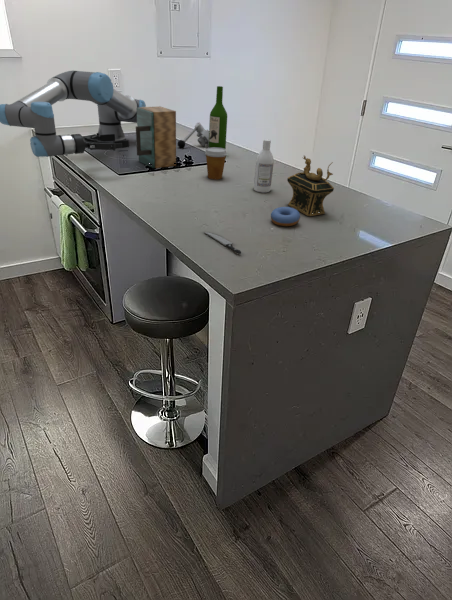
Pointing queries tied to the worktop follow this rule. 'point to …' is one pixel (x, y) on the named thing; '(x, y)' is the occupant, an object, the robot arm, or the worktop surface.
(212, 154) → the disposable coffee cup
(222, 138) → the wine bottle
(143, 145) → the door
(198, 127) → the mechanical valve
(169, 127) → the cabinet
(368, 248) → the worktop surface
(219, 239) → the chef's knife
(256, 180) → the bath foam
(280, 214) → the doughnut
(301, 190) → the decorative box
